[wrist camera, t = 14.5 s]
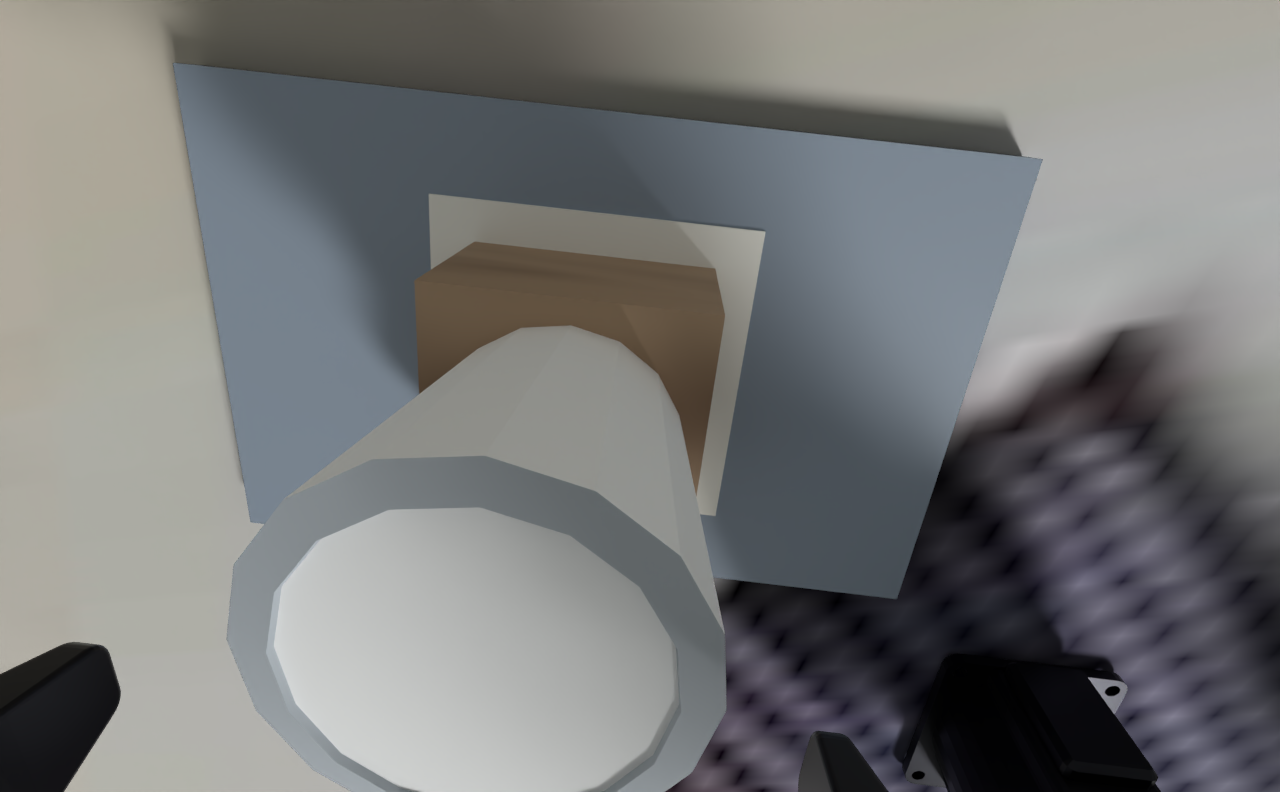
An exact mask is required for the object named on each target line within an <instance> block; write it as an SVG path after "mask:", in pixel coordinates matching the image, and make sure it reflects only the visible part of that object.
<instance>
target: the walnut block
mask: <svg viewBox="0 0 1280 792" xmlns="http://www.w3.org/2000/svg"><path fill="white" fill-rule="evenodd" d="M414 283H415V308H416V332H417V356H418V381H419V394H420V393H421V392H423V391H424V390H425V389H427V388H428V387H429V386H430V385H432V384H433V383H434V382H436V381H437V380H438V379H439V378H441V377H442V376H443V375H445V374H446V373H447V372H448V371H450V370H451V369H452V368H454V367H455V366H456V365H457V364H459V363H460V362H461V361H463V360H464V359H465V358H466V357H468V356H469V355H470V354H472V353H473V352H474V351H476V350H477V349H478V348H480V347H482V346H484V345H486V344H488V343H490V342H492V341H495V340H497V339H499V338H501V337H503V336H505V335H507V334H509V333H511V332H513V331H515V330H518V329H520V328H527V327H548V326H569V325H572V326H575V327H578V328H581V329H584V330H587V331H590V332H592V333H595V334H598V335H601V336H604V337H607V338H610V339H613V340H616V341H619V342H621V343H622V344H623V345H624V346H626V347H627V348H628V349H629V350H630V351H632V352H633V353H634V354H635V355H636V356H637V357H639V358H640V359H641V360H642V361H643V362H645V363H646V364H647V365H648V366H649V367H651V368H652V369H653V370H654V371H655V372H656V373H658V375H659V377H660V379H661V380H662V382H663V384H664V386H665V388H666V390H667V392H668V394H669V396H670V398H671V400H672V402H673V404H674V406H675V408H676V410H677V412H678V414H679V416H680V421H681V426H682V431H683V435H684V440H685V445H686V450H687V455H688V459H689V464H690V469H691V474H692V479H693V484H694V488H695V493H696V496H697V490H698V484H699V477H700V471H701V465H702V459H703V452H704V446H705V440H706V433H707V427H708V421H709V414H710V408H711V402H712V396H713V389H714V383H715V377H716V370H717V364H718V358H719V352H720V345H721V339H722V333H723V326H724V320H725V312H724V307H723V303H722V298H721V293H720V289H719V284H718V279H717V275H716V270H715V269H714V268H705V267H696V266H688V265H679V264H670V263H661V262H652V261H643V260H634V259H625V258H616V257H608V256H599V255H590V254H581V253H572V252H563V251H554V250H545V249H536V248H527V247H519V246H510V245H501V244H492V243H483V242H473V243H471V244H470V245H468V246H467V247H465V248H464V249H462V250H461V251H459V252H457V253H456V254H454V255H453V256H451V257H450V258H448V259H447V260H445V261H444V262H442V263H440V264H439V265H437V266H436V267H434V268H433V269H431V270H430V271H428V272H427V273H425V274H423V275H422V276H420V277H419V278H417V279H416V280H414Z"/></svg>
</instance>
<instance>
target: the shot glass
mask: <svg viewBox="0 0 1280 792" xmlns="http://www.w3.org/2000/svg"><path fill="white" fill-rule="evenodd" d="M227 642H228V644H229V646H230V649H231V651H232V654H233V656H234V659H235V661H236V663H237V666H238V668H239V671H240V673H241V675H242V678H243V680H244V683H245V685H246V687H247V690H248V692H249V695H250V697H251V700H252V702H253V704H254V707H255V709H256V711H257V712H258V713H259V714H260V715H261V716H262V717H263V718H264V719H265V720H266V721H267V722H268V724H269V725H270V726H271V727H272V728H273V729H274V730H275V731H276V732H277V733H278V734H279V735H280V736H281V737H282V738H283V739H284V740H285V741H286V742H287V743H288V744H289V745H290V746H291V748H292V749H293V750H294V751H295V752H296V753H297V754H298V755H299V756H300V757H301V758H302V759H303V760H304V761H305V762H306V763H307V764H308V765H309V766H310V767H311V768H312V769H313V770H314V771H316V772H318V773H319V774H321V775H323V776H325V777H326V778H328V779H330V780H332V781H333V782H335V783H337V784H339V785H340V786H342V787H344V788H346V789H347V790H349V791H351V792H665V791H666V790H668V789H669V788H671V787H672V786H673V785H675V784H676V783H678V782H679V781H681V780H682V779H683V778H685V777H686V776H688V775H689V774H691V773H692V771H693V770H694V768H695V766H696V764H697V762H698V761H699V759H700V757H701V755H702V753H703V752H704V750H705V748H706V746H707V744H708V743H709V741H710V739H711V737H712V735H713V734H714V732H715V730H716V728H717V726H718V725H719V723H720V721H721V719H722V717H723V716H724V714H725V712H726V664H725V633H724V628H723V623H722V618H721V613H720V608H719V604H718V599H717V594H716V589H715V584H714V580H713V575H712V570H711V565H710V560H709V556H708V551H707V546H706V541H705V536H704V532H703V527H702V522H701V517H700V512H699V508H698V503H697V498H696V493H695V488H694V484H693V479H692V474H691V469H690V464H689V459H688V455H687V450H686V445H685V440H684V435H683V431H682V426H681V421H680V416H679V414H678V412H677V410H676V408H675V406H674V404H673V402H672V400H671V398H670V396H669V394H668V392H667V390H666V388H665V386H664V384H663V382H662V380H661V379H660V377H659V375H658V373H656V372H655V371H654V370H653V369H652V368H651V367H649V366H648V365H647V364H646V363H645V362H643V361H642V360H641V359H640V358H639V357H637V356H636V355H635V354H634V353H633V352H632V351H630V350H629V349H628V348H627V347H626V346H624V345H623V344H622V343H621V342H619V341H616V340H613V339H610V338H607V337H604V336H601V335H598V334H595V333H592V332H590V331H587V330H584V329H581V328H578V327H575V326H572V325H569V326H548V327H527V328H520V329H518V330H515V331H513V332H511V333H509V334H507V335H505V336H503V337H501V338H499V339H497V340H495V341H492V342H490V343H488V344H486V345H484V346H482V347H480V348H478V349H477V350H476V351H474V352H473V353H472V354H470V355H469V356H468V357H466V358H465V359H464V360H463V361H461V362H460V363H459V364H457V365H456V366H455V367H454V368H452V369H451V370H450V371H448V372H447V373H446V374H445V375H443V376H442V377H441V378H439V379H438V380H437V381H436V382H434V383H433V384H432V385H430V386H429V387H428V388H427V389H425V390H424V391H423V392H421V393H420V394H419V395H417V396H416V397H415V398H414V399H412V400H411V401H410V402H408V403H407V404H406V405H405V406H403V407H402V408H401V409H399V410H398V411H397V412H396V413H394V414H393V415H392V416H390V417H389V418H388V419H387V420H385V421H384V422H383V423H381V424H380V425H379V426H377V427H376V428H375V429H374V430H372V431H371V432H370V433H368V434H367V435H366V436H365V437H363V438H362V439H361V440H359V441H358V442H357V443H356V444H354V445H353V446H352V447H350V448H349V449H348V450H347V451H345V452H344V453H343V454H341V455H340V456H339V457H338V458H336V459H335V460H334V461H332V462H331V463H330V464H328V465H327V466H326V467H325V468H323V469H322V470H321V471H319V472H318V473H317V474H316V475H314V476H313V477H312V478H310V479H309V480H308V481H307V482H305V483H304V484H303V485H301V486H300V487H299V488H298V489H296V490H295V491H294V492H292V493H291V494H290V495H288V496H287V497H286V498H285V499H283V501H282V502H281V503H280V504H279V506H278V507H277V508H276V510H275V511H274V512H273V514H272V515H271V516H270V518H269V519H268V520H267V522H266V523H265V524H264V525H263V527H262V528H261V529H260V531H259V532H258V533H257V535H256V536H255V537H254V539H253V540H252V541H251V543H250V544H249V545H248V546H247V548H246V549H245V550H244V552H243V553H242V554H241V556H240V557H239V558H238V560H237V561H236V562H235V563H234V566H233V577H232V587H231V597H230V608H229V618H228V629H227Z"/></svg>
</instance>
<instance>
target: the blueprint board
mask: <svg viewBox="0 0 1280 792" xmlns="http://www.w3.org/2000/svg"><path fill="white" fill-rule="evenodd" d="M173 67H174V73H175V78H176V84H177V90H178V96H179V102H180V108H181V114H182V120H183V126H184V132H185V138H186V143H187V149H188V155H189V161H190V167H191V173H192V179H193V185H194V191H195V197H196V203H197V208H198V214H199V220H200V226H201V232H202V238H203V244H204V250H205V256H206V262H207V267H208V273H209V279H210V285H211V291H212V297H213V303H214V309H215V315H216V321H217V327H218V332H219V338H220V344H221V350H222V356H223V362H224V368H225V374H226V380H227V386H228V392H229V397H230V403H231V409H232V415H233V421H234V427H235V433H236V439H237V445H238V451H239V456H240V462H241V468H242V474H243V480H244V486H245V492H246V498H247V504H248V510H249V516H250V521H251V522H253V523H262V524H265V523H266V522H267V520H268V519H269V518H270V516H271V515H272V514H273V512H274V511H275V510H276V508H277V507H278V506H279V504H280V503H281V502H282V501H283V499H285V498H286V497H287V496H288V495H290V494H291V493H292V492H294V491H295V490H296V489H298V488H299V487H300V486H301V485H303V484H304V483H305V482H307V481H308V480H309V479H310V478H312V477H313V476H314V475H316V474H317V473H318V472H319V471H321V470H322V469H323V468H325V467H326V466H327V465H328V464H330V463H331V462H332V461H334V460H335V459H336V458H338V457H339V456H340V455H341V454H343V453H344V452H345V451H347V450H348V449H349V448H350V447H352V446H353V445H354V444H356V443H357V442H358V441H359V440H361V439H362V438H363V437H365V436H366V435H367V434H368V433H370V432H371V431H372V430H374V429H375V428H376V427H377V426H379V425H380V424H381V423H383V422H384V421H385V420H387V419H388V418H389V417H390V416H392V415H393V414H394V413H396V412H397V411H398V410H399V409H401V408H402V407H403V406H405V405H406V404H407V403H408V402H410V401H411V400H412V399H414V398H415V397H416V396H417V395H419V381H418V356H417V332H416V308H415V283H414V280H416V279H417V278H419V277H420V276H422V275H423V274H425V273H427V272H428V271H430V270H431V269H433V268H434V267H436V266H437V265H439V264H440V263H442V262H444V261H445V260H447V259H448V258H450V257H451V256H453V255H454V254H456V253H457V252H459V251H461V250H462V249H464V248H465V247H467V246H468V245H470V244H471V243H473V242H483V243H492V244H501V245H510V246H519V247H527V248H536V249H545V250H554V251H563V252H572V253H581V254H590V255H599V256H608V257H616V258H625V259H634V260H643V261H652V262H661V263H670V264H679V265H688V266H696V267H705V268H714V269H715V270H716V275H717V279H718V284H719V289H720V293H721V298H722V303H723V307H724V312H725V320H724V326H723V333H722V339H721V345H720V352H719V358H718V364H717V370H716V377H715V383H714V389H713V396H712V402H711V408H710V414H709V421H708V427H707V433H706V440H705V446H704V452H703V459H702V465H701V471H700V477H699V484H698V490H697V496H696V498H697V503H698V508H699V512H700V517H701V522H702V527H703V532H704V536H705V541H706V546H707V551H708V556H709V560H710V565H711V570H712V575H713V577H715V578H723V579H732V580H740V581H749V582H757V583H765V584H774V585H782V586H791V587H799V588H807V589H816V590H824V591H832V592H841V593H849V594H858V595H866V596H874V597H883V598H891V599H897V597H898V594H899V591H900V588H901V585H902V582H903V579H904V576H905V573H906V570H907V567H908V564H909V561H910V558H911V555H912V552H913V549H914V546H915V543H916V540H917V537H918V534H919V531H920V528H921V525H922V522H923V519H924V516H925V513H926V510H927V507H928V504H929V501H930V498H931V495H932V492H933V489H934V486H935V483H936V480H937V477H938V474H939V471H940V468H941V465H942V462H943V459H944V456H945V453H946V450H947V447H948V444H949V440H950V437H951V434H952V431H953V428H954V425H955V422H956V419H957V416H958V413H959V410H960V407H961V404H962V401H963V398H964V395H965V392H966V389H967V386H968V383H969V380H970V377H971V374H972V371H973V368H974V365H975V362H976V359H977V356H978V353H979V350H980V347H981V344H982V341H983V338H984V335H985V332H986V329H987V326H988V323H989V320H990V317H991V314H992V311H993V308H994V305H995V302H996V299H997V296H998V293H999V290H1000V287H1001V284H1002V281H1003V278H1004V275H1005V272H1006V269H1007V266H1008V263H1009V260H1010V257H1011V254H1012V251H1013V248H1014V245H1015V242H1016V239H1017V236H1018V233H1019V230H1020V227H1021V224H1022V220H1023V217H1024V214H1025V211H1026V208H1027V205H1028V202H1029V199H1030V196H1031V193H1032V190H1033V187H1034V184H1035V181H1036V178H1037V175H1038V172H1039V169H1040V166H1041V163H1042V160H1043V159H1037V158H1030V157H1023V156H1014V155H1005V154H996V153H987V152H978V151H969V150H960V149H951V148H942V147H933V146H924V145H915V144H906V143H897V142H888V141H879V140H870V139H861V138H852V137H843V136H834V135H825V134H816V133H807V132H798V131H789V130H780V129H771V128H762V127H753V126H744V125H735V124H726V123H717V122H708V121H699V120H690V119H681V118H672V117H663V116H654V115H645V114H636V113H627V112H618V111H609V110H599V109H590V108H581V107H572V106H563V105H554V104H545V103H536V102H527V101H518V100H509V99H500V98H491V97H482V96H473V95H464V94H455V93H446V92H437V91H428V90H419V89H410V88H401V87H392V86H383V85H374V84H365V83H356V82H347V81H338V80H329V79H320V78H311V77H302V76H293V75H284V74H275V73H266V72H257V71H248V70H239V69H230V68H221V67H212V66H203V65H192V64H181V63H173Z"/></svg>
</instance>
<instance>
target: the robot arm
mask: <svg viewBox="0 0 1280 792" xmlns="http://www.w3.org/2000/svg"><path fill="white" fill-rule="evenodd" d="M957 668H959V669H957ZM1127 689H1128V688H1127V685H1126V684H1125V683H1124V681H1123V680H1122V679H1121V677H1120V676H1119V675H1117V674H1116V673H1113V672H1106V671H1098V670H1090V669H1081V668H1073V667H1065V666H1056V665H1048V664H1040V663H1031V662H1023V661H1015V660H1006V659H998V658H990V657H981V656H973V655H965V654H953V655H950V656H948V657H946V658H945V659H944V660H943V662H942V664H941V667H940V669H939V672H938V674H937V677H936V680H935V682H934V685H933V687H932V690H931V692H930V695H929V698H928V700H927V703H926V705H925V708H924V711H923V713H922V716H921V718H920V721H919V724H918V726H917V729H916V731H915V734H914V736H913V739H912V742H911V744H910V747H909V749H908V752H907V755H906V757H905V760H904V762H903V766H902V768H903V771H904V774H905V777H906V779H907V781H909V782H910V783H914V784H920V785H929V786H937V787H945V788H947V791H948V792H1161V791H1160V790H1159V788H1158V787H1157V785H1156V784H1155V782H1156V781H1157V779H1158V776H1157V774H1156V772H1155V771H1154V769H1153V768H1152V766H1151V765H1150V764H1149V762H1148V761H1147V759H1146V758H1145V757H1144V755H1143V754H1142V752H1141V751H1140V750H1139V748H1138V747H1137V745H1136V744H1135V743H1134V741H1133V740H1132V738H1131V737H1130V736H1129V734H1128V733H1127V731H1126V730H1125V729H1124V727H1123V726H1122V724H1121V723H1120V722H1119V720H1118V719H1117V717H1116V716H1115V715H1114V714H1115V713H1116V711H1117V709H1118V707H1119V705H1120V704H1121V702H1122V700H1123V698H1124V696H1125V695H1126V693H1127ZM120 696H121V690H120V686H119V683H118V680H117V676H116V673H115V670H114V666H113V663H112V660H111V657H110V654H109V652H108V650H107V649H106V648H105V647H104V646H102V645H97V644H89V643H80V642H70V643H66V644H63V645H60V646H58V647H56V648H54V649H52V650H50V651H48V652H46V653H43V654H41V655H39V656H37V657H35V658H33V659H31V660H29V661H27V662H25V663H23V664H20V665H18V666H16V667H14V668H12V669H10V670H8V671H6V672H4V673H2V674H0V792H64V791H65V789H66V788H67V786H68V785H69V783H70V782H71V780H72V778H73V777H74V775H75V774H76V772H77V771H78V769H79V768H80V766H81V764H82V763H83V761H84V760H85V758H86V757H87V755H88V753H89V752H90V750H91V749H92V747H93V746H94V744H95V743H96V741H97V739H98V738H99V736H100V735H101V733H102V732H103V730H104V729H105V727H106V725H107V724H108V722H109V721H110V719H111V718H112V716H113V714H114V713H115V711H116V709H117V707H118V704H119V701H120ZM798 792H888V791H887V789H886V788H885V786H884V785H883V784H882V782H881V781H880V780H879V778H878V777H877V775H876V774H875V773H874V771H873V770H872V769H871V767H870V766H869V765H868V763H867V762H866V760H865V759H864V758H863V756H862V755H861V754H860V752H859V751H858V749H857V748H856V747H855V745H854V744H853V743H852V741H851V740H850V739H849V738H848V737H847V736H845V735H843V734H840V733H831V732H823V731H816V732H814V733H813V734H812V735H811V737H810V740H809V744H808V747H807V750H806V754H805V757H804V760H803V764H802V767H801V771H800V775H799V783H798Z"/></svg>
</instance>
